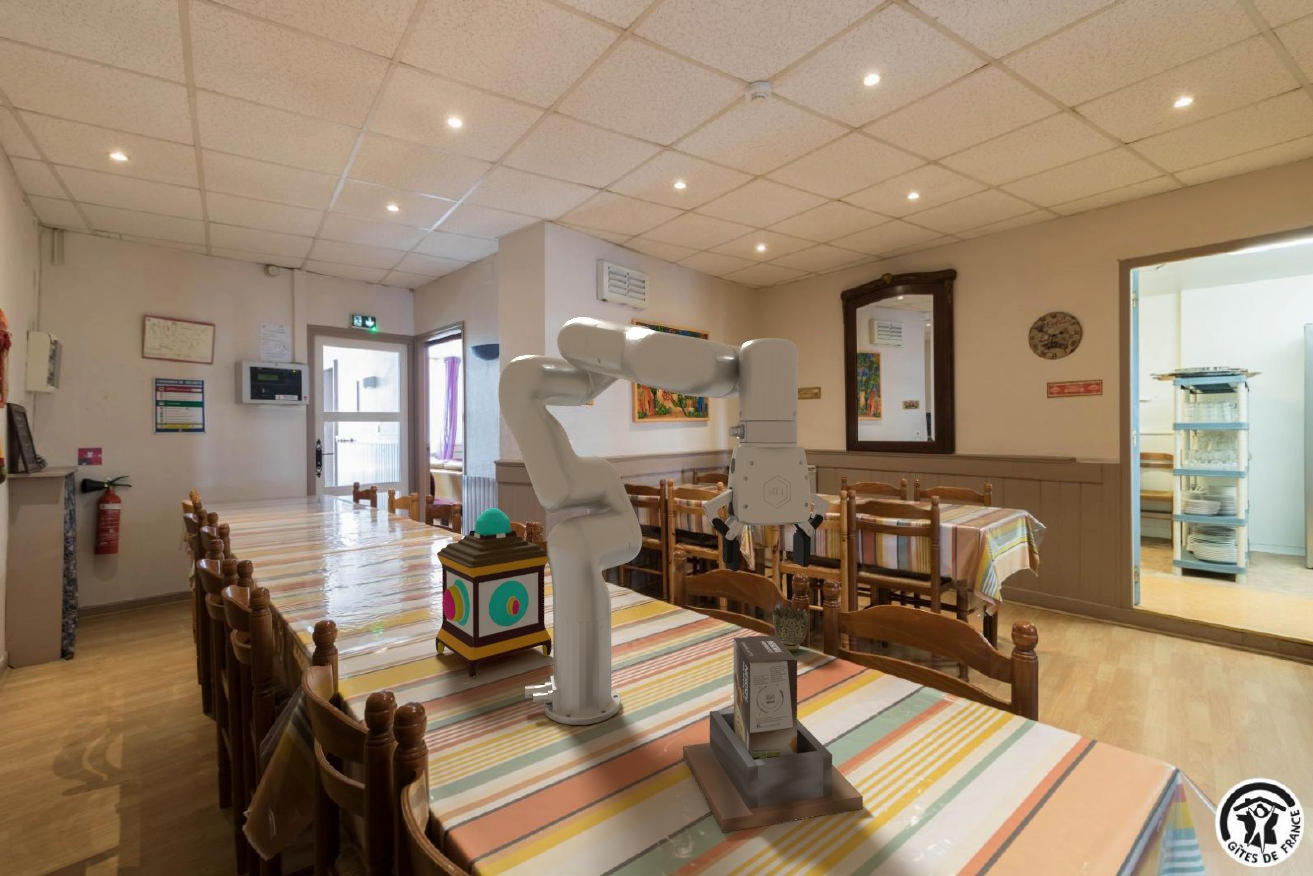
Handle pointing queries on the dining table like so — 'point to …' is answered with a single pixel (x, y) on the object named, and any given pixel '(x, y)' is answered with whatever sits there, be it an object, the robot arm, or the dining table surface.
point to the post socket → (766, 779)
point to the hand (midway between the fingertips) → (766, 566)
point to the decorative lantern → (492, 593)
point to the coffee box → (765, 696)
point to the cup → (790, 627)
